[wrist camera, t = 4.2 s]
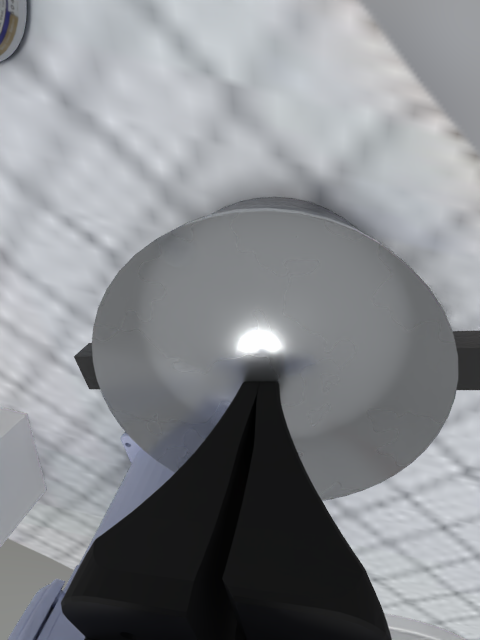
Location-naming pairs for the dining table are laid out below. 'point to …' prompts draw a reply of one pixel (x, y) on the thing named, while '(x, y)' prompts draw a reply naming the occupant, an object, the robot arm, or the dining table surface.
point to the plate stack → (416, 630)
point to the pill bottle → (11, 25)
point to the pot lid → (278, 343)
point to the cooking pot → (472, 346)
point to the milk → (17, 471)
